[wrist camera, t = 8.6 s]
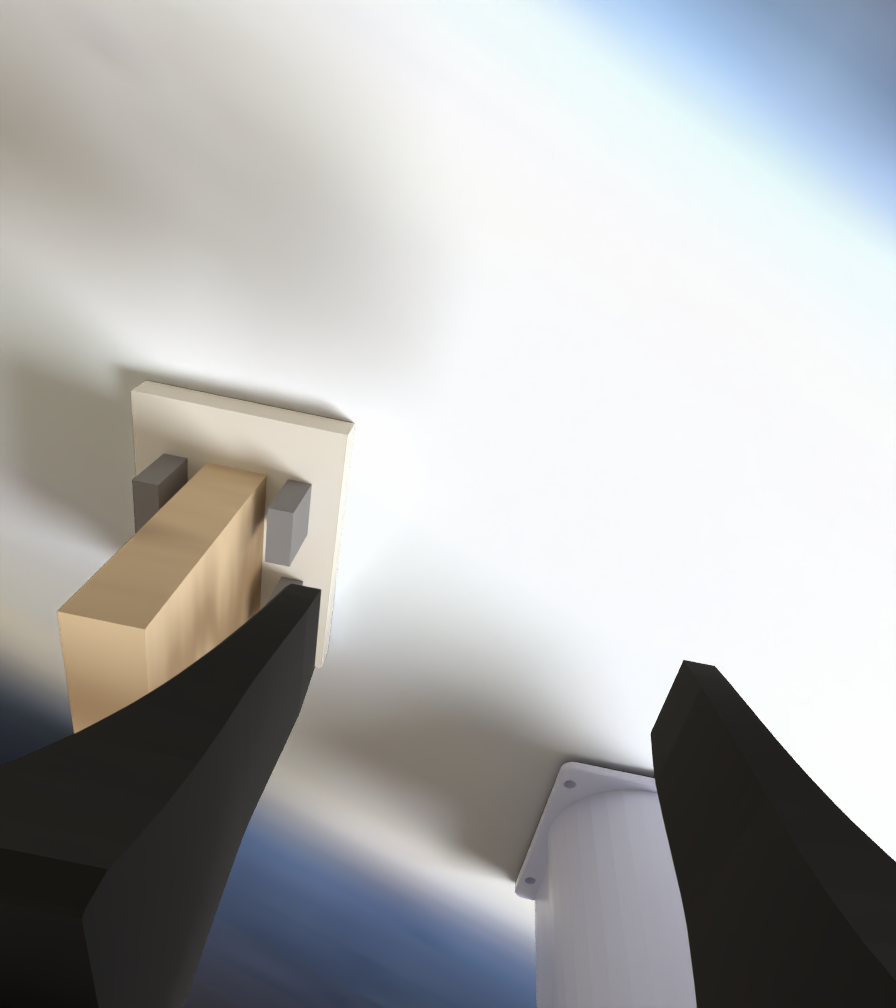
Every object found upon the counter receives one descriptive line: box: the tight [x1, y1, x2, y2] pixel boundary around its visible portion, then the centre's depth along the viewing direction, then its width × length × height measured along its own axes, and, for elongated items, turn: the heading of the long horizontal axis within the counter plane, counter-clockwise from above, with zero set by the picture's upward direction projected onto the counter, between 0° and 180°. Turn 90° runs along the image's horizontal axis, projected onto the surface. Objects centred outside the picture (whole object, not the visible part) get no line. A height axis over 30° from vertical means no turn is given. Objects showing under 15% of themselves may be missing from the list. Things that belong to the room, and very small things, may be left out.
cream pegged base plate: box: [131, 381, 355, 669], centre depth 23 cm, size 10×7×3 cm
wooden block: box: [57, 463, 267, 734], centre depth 20 cm, size 6×2×8 cm, turn 170°
